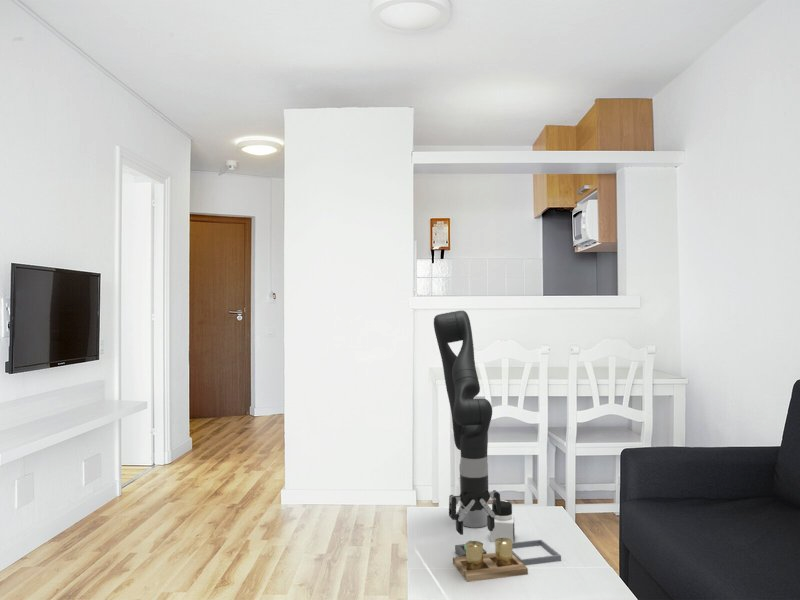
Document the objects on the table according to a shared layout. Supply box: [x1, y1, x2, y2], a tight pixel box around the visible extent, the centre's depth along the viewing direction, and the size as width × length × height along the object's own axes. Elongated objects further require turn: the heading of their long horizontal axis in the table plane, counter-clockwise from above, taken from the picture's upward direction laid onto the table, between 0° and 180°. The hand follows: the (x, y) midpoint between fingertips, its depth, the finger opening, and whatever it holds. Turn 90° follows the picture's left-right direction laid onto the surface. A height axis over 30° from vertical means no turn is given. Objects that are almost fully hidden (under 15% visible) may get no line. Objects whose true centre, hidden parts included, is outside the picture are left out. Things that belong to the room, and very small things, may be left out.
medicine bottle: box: [489, 499, 516, 543], centre depth 188 cm, size 7×7×12 cm
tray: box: [512, 539, 562, 566], centre depth 175 cm, size 12×12×2 cm
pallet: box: [452, 552, 529, 583], centre depth 166 cm, size 12×17×2 cm
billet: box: [465, 540, 484, 571], centre depth 165 cm, size 5×5×7 cm
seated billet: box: [494, 538, 513, 567], centre depth 167 cm, size 5×5×7 cm
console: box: [454, 543, 488, 557], centre depth 175 cm, size 7×7×3 cm
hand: (475, 531), depth 165 cm, fingers open, 8 cm apart
